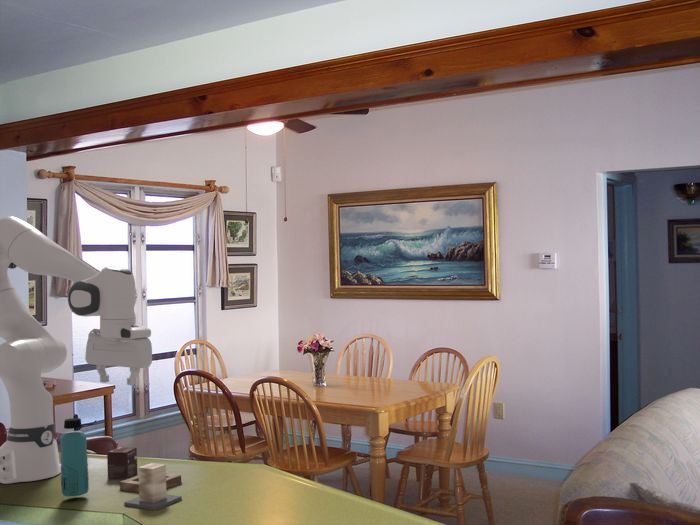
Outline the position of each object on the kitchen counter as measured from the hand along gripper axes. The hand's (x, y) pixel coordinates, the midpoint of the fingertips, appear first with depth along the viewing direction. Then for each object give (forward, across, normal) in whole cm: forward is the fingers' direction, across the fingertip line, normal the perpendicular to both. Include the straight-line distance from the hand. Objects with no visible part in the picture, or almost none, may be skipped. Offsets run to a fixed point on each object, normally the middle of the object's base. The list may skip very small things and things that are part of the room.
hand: (117, 383), depth 194 cm
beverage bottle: (+28, -5, -10) cm, 30 cm away
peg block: (+26, +16, -5) cm, 31 cm away
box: (+28, -10, +11) cm, 32 cm away
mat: (+27, +16, -5) cm, 32 cm away
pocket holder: (+27, +5, +6) cm, 29 cm away
